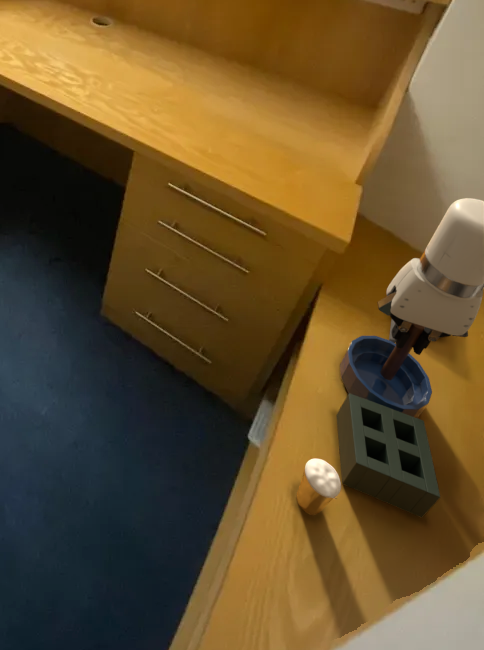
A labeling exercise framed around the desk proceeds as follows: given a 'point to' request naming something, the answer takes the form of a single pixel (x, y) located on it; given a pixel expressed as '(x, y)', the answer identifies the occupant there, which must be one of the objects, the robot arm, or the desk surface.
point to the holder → (386, 455)
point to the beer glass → (317, 486)
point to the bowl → (367, 382)
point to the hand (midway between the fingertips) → (406, 342)
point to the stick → (401, 353)
